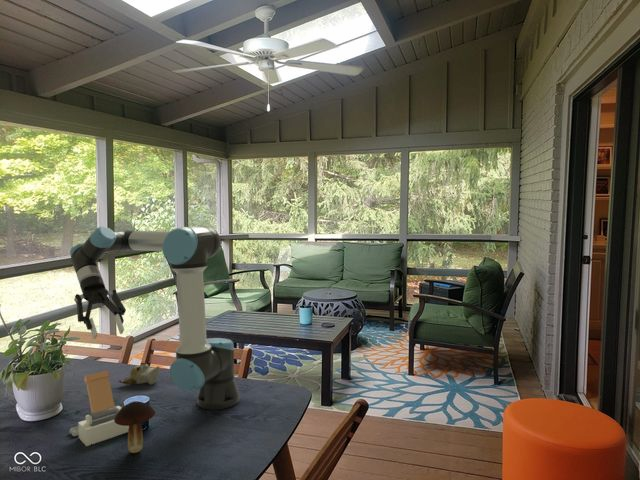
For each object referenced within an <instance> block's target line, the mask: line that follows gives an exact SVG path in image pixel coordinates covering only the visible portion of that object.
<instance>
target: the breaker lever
mask: <svg viewBox="0 0 640 480" xmlns="http://www.w3.org/2000/svg"><path fill="white" fill-rule="evenodd" d="M109 376H111V375H110V372H109V369H108V370H104V371H100V372H95V373H91V374H86V375H85V376H84V377H83V380H84V383H85V386H86V390H87V394H88V395H87V396H88V400H89V406H90V411H91V413H90V416H91V417H92V420H95V419H98V418H101V417H105V416H108V415H111V414H114V413H117V408H116V405H115V402H114V396H113V392H112V388H111V381H110V378H109Z"/></svg>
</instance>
